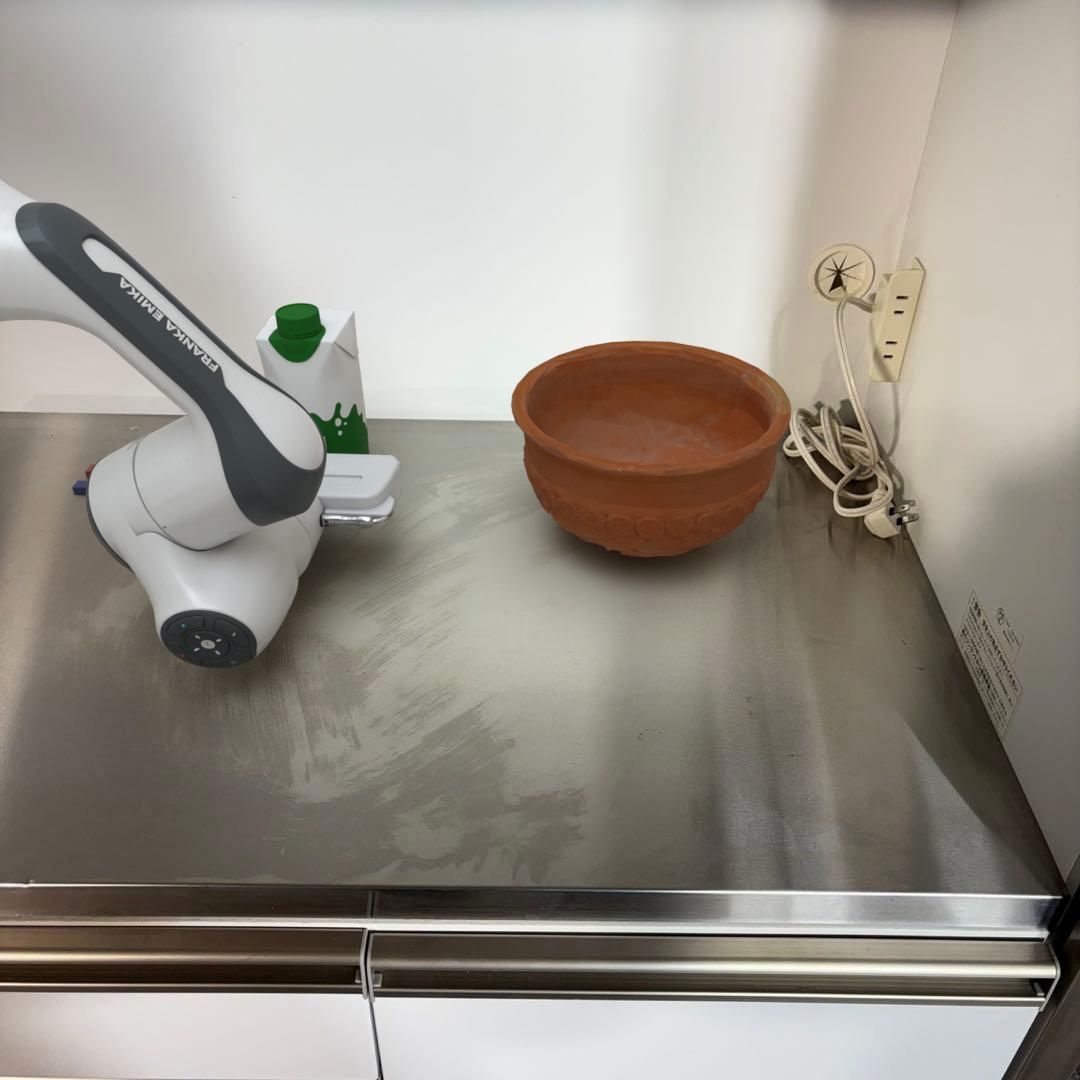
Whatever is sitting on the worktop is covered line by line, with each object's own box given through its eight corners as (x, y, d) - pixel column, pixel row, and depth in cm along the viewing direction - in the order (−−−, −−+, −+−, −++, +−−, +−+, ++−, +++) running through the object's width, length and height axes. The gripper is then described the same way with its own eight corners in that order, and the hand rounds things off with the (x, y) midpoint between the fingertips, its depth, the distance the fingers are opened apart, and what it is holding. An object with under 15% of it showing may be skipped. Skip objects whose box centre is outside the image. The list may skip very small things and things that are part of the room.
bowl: (800, 606, 86) (829, 461, 78) (520, 618, 85) (517, 472, 76) (736, 462, 106) (754, 334, 98) (508, 470, 105) (505, 341, 96)
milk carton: (277, 502, 100) (242, 319, 88) (302, 457, 107) (273, 283, 96) (360, 506, 99) (336, 322, 88) (380, 461, 107) (360, 285, 95)
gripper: (384, 495, 82) (413, 416, 93) (149, 488, 83) (205, 411, 94) (392, 555, 85) (418, 472, 97) (166, 547, 87) (218, 466, 98)
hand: (311, 442), depth 95 cm, fingers closed, pressing on milk carton
